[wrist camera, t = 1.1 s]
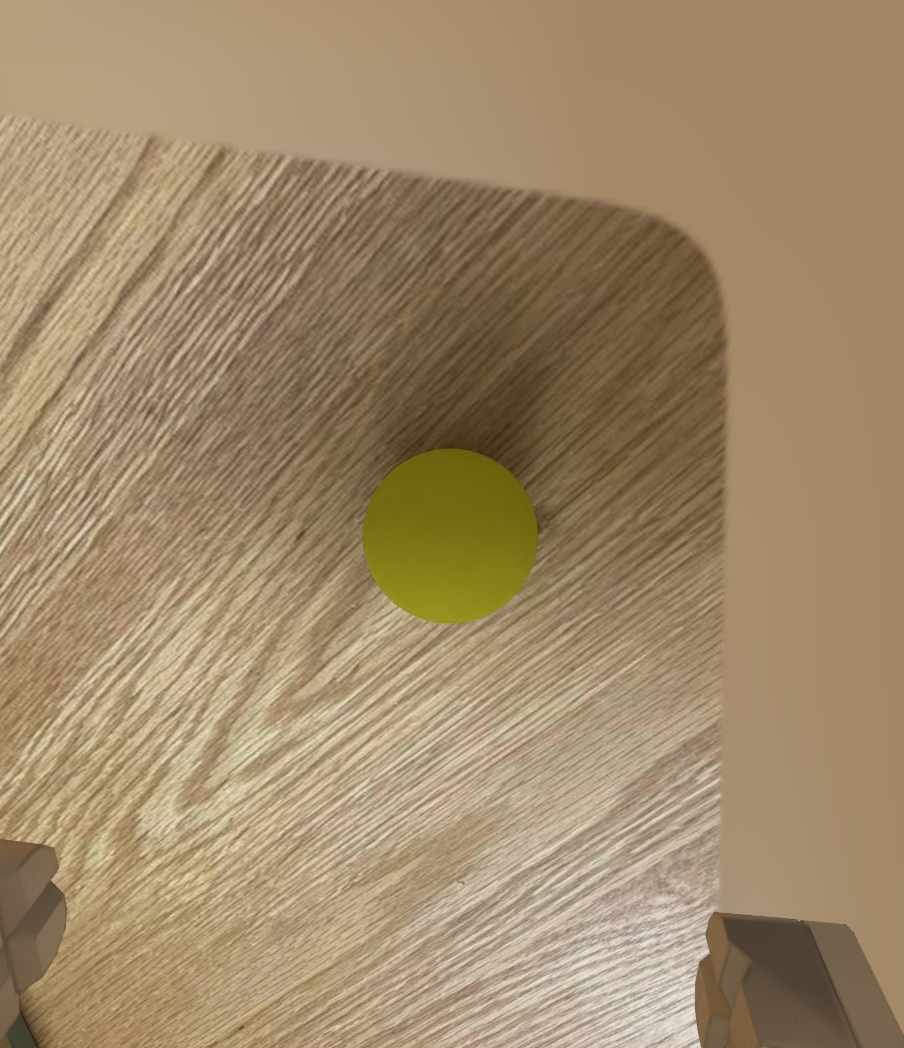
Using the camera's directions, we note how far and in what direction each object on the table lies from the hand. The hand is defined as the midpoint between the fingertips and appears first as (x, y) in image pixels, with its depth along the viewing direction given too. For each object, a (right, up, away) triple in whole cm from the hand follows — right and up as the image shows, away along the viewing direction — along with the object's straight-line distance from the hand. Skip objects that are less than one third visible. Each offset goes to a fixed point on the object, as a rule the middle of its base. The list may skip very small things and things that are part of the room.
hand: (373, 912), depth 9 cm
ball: (+1, +4, +11) cm, 12 cm away
